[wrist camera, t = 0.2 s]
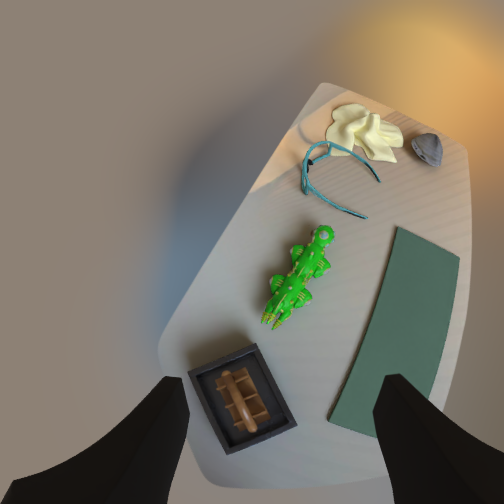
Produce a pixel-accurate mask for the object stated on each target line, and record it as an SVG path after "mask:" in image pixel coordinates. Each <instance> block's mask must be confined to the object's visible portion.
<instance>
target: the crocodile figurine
mask: <svg viewBox="0 0 504 504" xmlns="http://www.w3.org/2000/svg"><path fill="white" fill-rule="evenodd" d="M334 236H335V232H334V231H333V229H332V228H331V226H326V225H324V226H323V225H320V226H319V227H318V228H317V229H315V230H314V236H313V237H312V239H313V240H312V241H314V242H311V243H308V245H307V246H306V247H304V246H302V245H294V246H293V247H292V248H291V249H290V254H291V257H292V265H294V266H293V268H292V269H293V271H292V272H294V273H291V271H290V272H289V273H290V274H289V273H288V275H287V276H286V277H285V276H283V275H278V274H275V275H273V277H271V278H270V280H269V283H270V285H271V292H272V295H274V296H273V297H271V298H272V300H271V298H270V299H269V300H268V302H267V305H266V308H265V312H263V314H264V315H262V316H263V317H261V318H262V319H261V320H262V321H261V323H263V322H264V321H265V320H266V318H268V316H269V318H268V320H267V324H268V323H269V322H271V321H273V320H272V319H274V317H276V314H277V313H278V312H280V313H281V315H280V316H279V318H278V319H276V321H275V324H273V325H274V326H273V328H272V330H273V329H276V328H277V327H278V326H280V325H281V324H282V322H283V321H285V320H286V319H288V318H289V317H290V316H291V315H292V312H293V308H299V307H302V306H303V305H308V304H309V303H310V302H311V299H312V295H311V294H310V292H309V291H308V290H307V289H305V286H306V285H307V284H306V280H307V279H308V282H309V280H310V278H311V277H312V275H314V277H315V278H317V277H320V276H322V275H323V274H325V273H327V272H329V269H330V267H331V266H330V263H329V262H328V261H327V260H326V259H325V258H324V253H325V251H324V249H325V247H328V246H329V244H330V243H332V242H333V241H334ZM323 247H324V248H323ZM292 269H291V270H292ZM305 279H306V280H305ZM308 282H307V283H308ZM292 307H293V308H292ZM272 309H273V311H272ZM291 309H292V310H291ZM271 311H272V312H271ZM270 312H271V313H270ZM269 314H271V315H269ZM290 314H291V315H290Z"/></svg>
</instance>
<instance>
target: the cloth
mask: <svg viewBox="0 0 504 504" xmlns="http://www.w3.org/2000/svg"><path fill="white" fill-rule="evenodd" d="M332 117H333V119H334V121H335V122H334V123H333V124H332V125H331V126H330V127H329V128H328V129H327V132H326V141H331V142H333V143H335V144H338V145H340V146H342V147H344V148H346V149H348V150H350V151H352V149H353V145H356V146H360V147H362V148H363V149H364V151H365V153H366V155H367V157H368V159H370V160H382V161H388V162H393V163H397V160H396V159H395V156H394V154H393V152H392V150H391V148H390V146H391V147H403V136H402V133H401V131H400V129H399V128H398V127H397V126H395V125H394V124H392V123H389V122H387V121H384V120H382V119H380V116H379V115H378V114H376V113H370V112H369V110H368V109H367V108H366V107H364V106H363V105H361V104H348V105H343V106H340V107H339V108H337V109H335V110H333V113H332ZM329 144H330V143H327V145H328V148H329ZM330 155H331V156H349V155H351V154H350V153H348V152H345V151H341V150H338V149H336V148H333V147H332V150H331V153H330Z"/></svg>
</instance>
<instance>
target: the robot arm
mask: <svg viewBox="0 0 504 504" xmlns="http://www.w3.org/2000/svg"><path fill="white" fill-rule="evenodd" d="M372 413H373V419H374V425H375V430H376V435H377V438H378V441H379V445H380V448H381V451H382V454H383V457H384V460H385V464H386V467H387V470H388V473H389V477H390V480H391V484H392V488H393V496H394V503H395V504H504V453H503V452H501V451H499V450H497V449H495V448H493V447H491V446H489V445H487V444H485V443H484V442H482V441H480V440H478V439H477V438H475V437H474V436H472V435H471V434H469V433H467V432H466V431H465V430H463V429H462V428H461V427H459V426H458V425H457V424H455V423H454V422H453V421H452V420H450V419H449V418H448V417H447V416H446V415H444V414H443V413H442V412H441V411H440V410H439V409H438V408H436V407H435V406H434V405H433V404H432V403H431V402H430V401H429V400H428V399H427V398H426V397H425V396H423V395H422V394H421V393H420V392H419V391H418V390H417V389H416V388H415V387H414V386H413V385H412V384H411V383H410V382H409V381H408V380H407V379H406V378H405V377H404V376H403V375H401V374H400V373H398V374H391V375H385V378H384V381H383V383H382V386H381V389H380V392H379V395H378V398H377V400H376V403H375V406H374V408H373V411H372ZM189 417H190V412H189V408H188V404H187V400H186V396H185V391H184V387H183V383H182V378H179V377H169V376H165V377H163V378H162V380H161V381H160V382H159V383H158V384H157V385H156V386H155V387H154V388H153V389H152V391H151V392H150V393H149V394H148V395H147V396H146V397H145V398H144V399H143V400H142V401H141V402H140V403H139V404H138V406H137V407H135V409H134V410H133V411H132V412H131V413H130V414H129V415H128V416H127V417H125V418H124V419H123V420H122V421H121V422H120V423H119V424H118V425H117V426H116V427H114V428H113V429H112V430H111V431H110V432H109V433H107V434H106V435H105V436H104V437H102V438H101V439H100V440H99V441H97V442H96V443H94V444H93V445H91V446H90V447H88V448H87V449H85V450H84V451H82V452H80V453H79V454H77V455H76V456H74V457H72V458H70V459H69V460H67V461H65V462H63V463H61V464H58V465H56V466H54V467H52V468H50V469H48V470H45V471H43V472H40V473H37V474H34V475H31V476H28V477H24V478H21V479H17V480H14V481H13V482H12V483H11V485H10V487H9V489H8V491H7V492H6V494H5V496H4V498H3V500H2V502H1V504H167V501H168V495H169V491H170V487H171V483H172V480H173V477H174V474H175V470H176V467H177V464H178V461H179V458H180V455H181V451H182V448H183V445H184V442H185V439H186V434H187V429H188V423H189Z"/></svg>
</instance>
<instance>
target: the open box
mask: <svg viewBox="0 0 504 504" xmlns="http://www.w3.org/2000/svg"><path fill="white" fill-rule="evenodd" d="M244 367H246V369H247V371H248V373H249V375H250V377H251V379H252V381H253V383H254V385H255V388H256V390H257V392H258V394H259V396H260V398H261V400H262V402H263V404H264V406H265V407H266V409H267V411H268V413H269V415H270V417H271V419H269V420H267V421H265V422H262V423H260V424H258V425H257V430H256V431H255V432H249V431H248V429H246V430H243V431H241V432H240V431H239V429H238V427H237V425H236V426H234V425H233V424H234V423H235V421H234V419H233V417H232V415H231V413H230V411H229V409H228V408H225V406H226V403H225V401H224V399H223V396H222V394H221V392H220V390H217V389H216V388H218V386H217V384H216V381H215V380H216V379H218V378H221V377H222V372H223V371H226V370H227V371H230V372H231V373H232V372H235V371H237V370H239V369H242V368H244ZM188 375H189V377H190V379H191V382H192V384H193V386H194V388H195V391H196V393H197V395H198V397H199V400H200V402H201V404H202V406H203V408H204V410H205V413H206V415H207V417H208V419H209V421H210V423H211V425H212V427H213V429H214V431H215V433H216V435H217V437H218V439H219V441H220V443H221V445H222V447H223V449H224V451H225V453H226V455H229V454H232V453H235V452H237V451H240V450H243V449H245V448H248V447H250V446H253V445H255V444H258V443H260V442H262V441H265V440H267V439H269V438H272V437H274V436H276V435H278V434H280V433H283V432H285V431H287V430H289V429H291V428H293V427H295V426H297V423H296V421H295V419H294V417H293V415H292V413H291V411H290V410H289V408H288V406H287V404H286V402H285V400H284V398H283V396H282V394H281V392H280V390H279V388H278V386H277V384H276V382H275V380H274V378H273V376H272V374H271V372H270V370H269V368H268V366H267V364H266V362H265V360H264V358H263V356H262V354H261V352H260V350H259V349H258V346H257V344H256V343H254V344H252V345H250V346H248V347H246V348H243V349H241V350H239V351H237V352H234V353H232V354H230V355H227V356H225V357H223V358H220V359H218V360H216V361H213V362H211V363H208V364H206V365H204V366H201V367H199V368H196V369H194V370H191V371H189V372H188Z"/></svg>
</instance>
